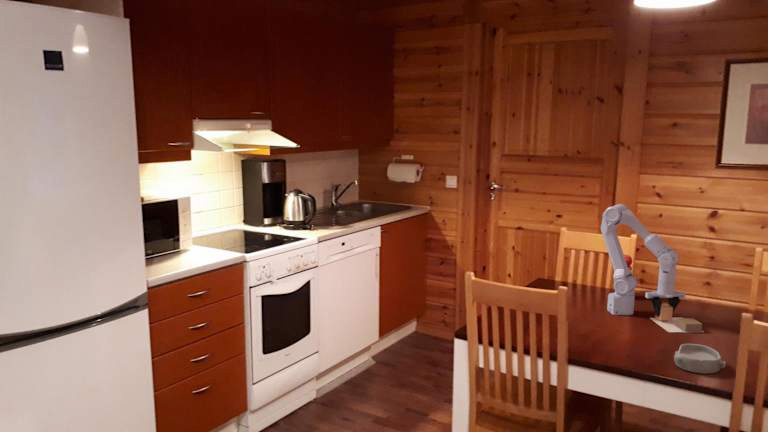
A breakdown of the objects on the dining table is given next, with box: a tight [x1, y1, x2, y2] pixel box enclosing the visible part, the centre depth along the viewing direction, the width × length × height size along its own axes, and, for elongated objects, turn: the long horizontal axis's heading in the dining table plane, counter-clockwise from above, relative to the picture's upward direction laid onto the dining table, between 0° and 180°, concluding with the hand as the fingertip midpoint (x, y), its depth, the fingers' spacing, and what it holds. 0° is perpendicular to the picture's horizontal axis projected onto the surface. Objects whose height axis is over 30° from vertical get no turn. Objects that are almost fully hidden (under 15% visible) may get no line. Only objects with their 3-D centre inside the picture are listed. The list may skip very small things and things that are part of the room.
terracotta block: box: [654, 303, 674, 320], centre depth 223 cm, size 4×4×5 cm
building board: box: [649, 316, 705, 334], centre depth 218 cm, size 13×16×4 cm
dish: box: [673, 343, 727, 374], centre depth 185 cm, size 14×14×5 cm
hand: (663, 315), depth 223 cm, fingers closed on terracotta block, 4 cm apart
